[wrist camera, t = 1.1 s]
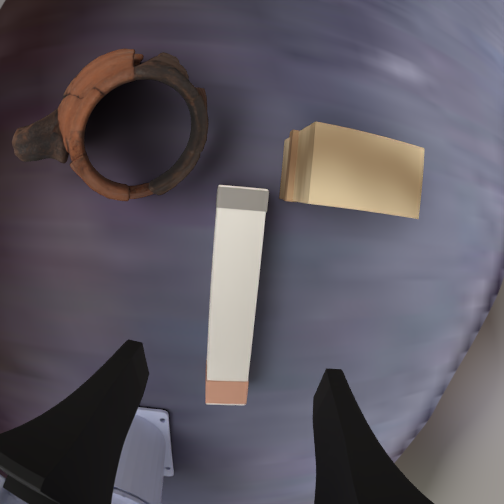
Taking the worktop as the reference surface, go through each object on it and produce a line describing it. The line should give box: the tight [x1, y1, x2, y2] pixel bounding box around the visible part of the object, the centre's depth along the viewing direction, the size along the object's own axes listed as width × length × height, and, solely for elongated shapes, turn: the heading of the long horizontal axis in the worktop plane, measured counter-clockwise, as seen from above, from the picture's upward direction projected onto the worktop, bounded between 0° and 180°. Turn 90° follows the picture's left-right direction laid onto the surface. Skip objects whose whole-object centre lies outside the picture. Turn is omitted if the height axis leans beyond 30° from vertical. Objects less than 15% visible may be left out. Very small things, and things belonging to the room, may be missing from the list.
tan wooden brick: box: [279, 122, 424, 219], centre depth 18 cm, size 4×7×6 cm, turn 84°
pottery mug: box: [12, 49, 208, 201], centre depth 16 cm, size 12×10×8 cm
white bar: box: [206, 185, 269, 405], centre depth 20 cm, size 15×3×3 cm, turn 174°
